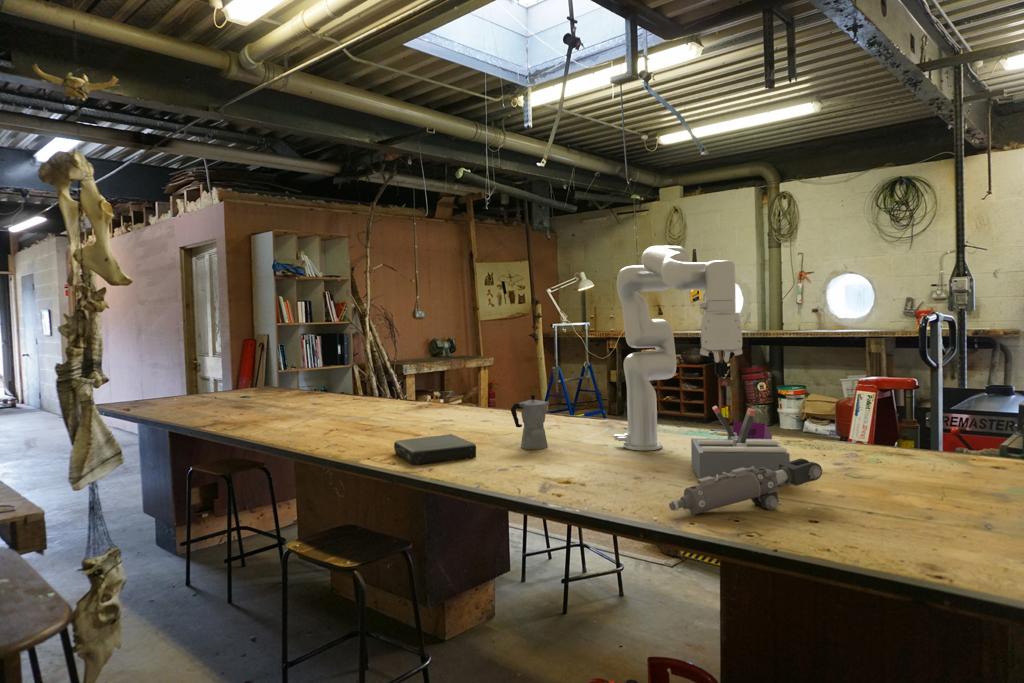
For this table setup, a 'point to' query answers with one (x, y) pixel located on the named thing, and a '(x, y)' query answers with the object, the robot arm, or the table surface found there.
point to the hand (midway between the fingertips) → (721, 377)
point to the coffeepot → (532, 423)
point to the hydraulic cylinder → (746, 486)
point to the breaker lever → (746, 426)
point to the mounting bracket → (754, 430)
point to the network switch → (434, 449)
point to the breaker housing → (734, 453)
